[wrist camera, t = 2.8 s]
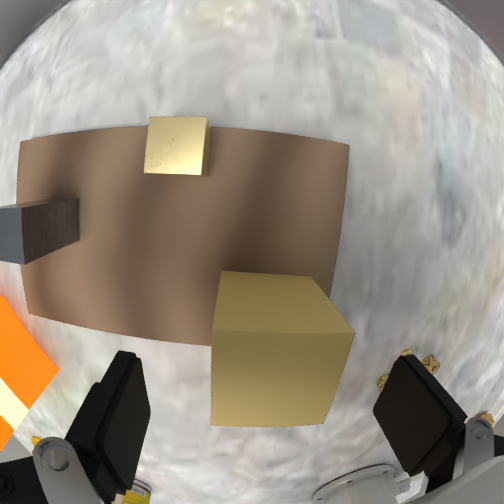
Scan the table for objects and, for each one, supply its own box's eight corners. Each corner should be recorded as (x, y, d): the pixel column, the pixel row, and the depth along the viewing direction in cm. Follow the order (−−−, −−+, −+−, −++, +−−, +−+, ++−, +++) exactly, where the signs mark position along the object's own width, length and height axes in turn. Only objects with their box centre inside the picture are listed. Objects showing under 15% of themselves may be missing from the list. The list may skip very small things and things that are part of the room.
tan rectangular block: (311, 276, 16) (354, 332, 9) (297, 350, 17) (323, 423, 11) (221, 270, 15) (212, 328, 9) (217, 347, 17) (210, 425, 10)
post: (79, 198, 14) (21, 207, 8) (79, 240, 14) (24, 264, 9) (49, 198, 14) (-8, 208, 8) (50, 238, 14) (-5, 259, 9)
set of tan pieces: (432, 354, 21) (442, 364, 19) (397, 392, 21) (406, 404, 20) (407, 336, 20) (418, 347, 18) (369, 379, 20) (377, 393, 19)
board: (342, 147, 15) (349, 144, 14) (313, 340, 18) (317, 349, 17) (30, 142, 13) (20, 141, 12) (36, 307, 16) (29, 313, 15)
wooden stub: (212, 130, 13) (206, 117, 11) (207, 177, 14) (200, 174, 11) (166, 129, 13) (149, 116, 10) (161, 175, 14) (143, 172, 11)
